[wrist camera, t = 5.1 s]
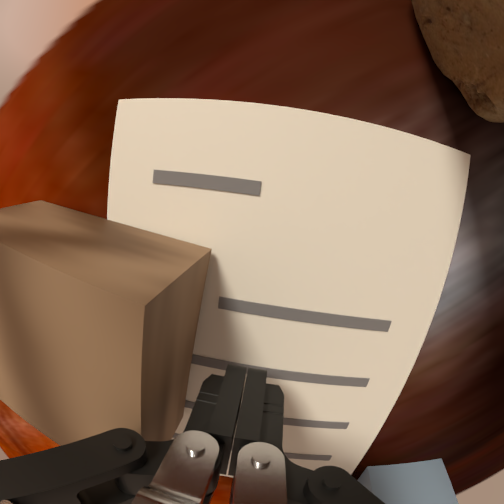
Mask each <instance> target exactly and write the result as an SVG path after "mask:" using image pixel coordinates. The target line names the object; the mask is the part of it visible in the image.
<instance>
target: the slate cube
mask: <svg viewBox="0 0 504 504" xmlns="http://www.w3.org/2000/svg"><path fill="white" fill-rule="evenodd" d="M357 481H359V482H360V483H361V484H362V485H363V486H364V487H366V488H367V489H368V490H369V491H370V492H372V493H373V494H374V495H375V496H377V497H378V498H379V499H380V500H381V501H383V502H384V503H385V504H458V501H457V498H456V496H455V493H454V490H453V487H452V485H451V482H450V479H449V477H448V474H447V471H446V469H445V466H444V464H443V461H442V459H435V460H429V461H422V462H414V463H405V464H395V465H382V466H367V468H366V469H365V471H364V472H363V473H362V475H361V476H360V477H359V479H358V480H357Z"/></svg>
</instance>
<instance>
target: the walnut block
mask: <svg viewBox="0 0 504 504" xmlns="http://www.w3.org/2000/svg"><path fill="white" fill-rule="evenodd" d="M211 250H212V249H210V248H207V247H203V246H200V245H196V244H193V243H189V242H185V241H182V240H178V239H175V238H171V237H168V236H164V235H160V234H157V233H153V232H150V231H146V230H143V229H139V228H136V227H132V226H129V225H125V224H121V223H118V222H114V221H111V220H107V219H104V218H100V217H97V216H93V215H90V214H86V213H83V212H80V211H76V210H73V209H69V208H66V207H62V206H59V205H55V204H52V203H48V202H45V201H41V200H40V201H35V202H30V203H25V204H20V205H15V206H10V207H6V208H1V209H0V400H2V401H3V402H4V403H5V404H6V405H7V406H8V407H10V408H11V409H12V410H13V411H14V412H16V413H17V414H18V415H19V416H21V417H22V418H23V419H24V420H26V421H27V422H28V423H30V424H31V425H32V426H34V427H35V428H36V429H38V430H39V431H40V432H42V433H43V434H44V435H46V436H47V437H49V438H50V439H52V440H53V441H55V442H56V443H58V444H59V445H61V446H62V445H66V444H69V443H72V442H75V441H79V440H82V439H85V438H88V437H91V436H94V435H97V434H100V433H103V432H106V431H109V430H112V429H115V428H128V429H131V430H134V431H136V432H137V433H139V434H140V435H141V436H142V437H143V439H144V441H169V440H171V439H172V437H173V435H174V433H175V431H176V430H177V428H178V426H179V424H180V422H181V420H182V418H183V414H184V407H185V400H186V393H187V387H188V380H189V374H190V367H191V361H192V355H193V349H194V343H195V337H196V331H197V325H198V319H199V314H200V308H201V303H202V297H203V292H204V286H205V281H206V276H207V271H208V265H209V260H210V255H211Z"/></svg>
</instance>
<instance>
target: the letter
mask: <svg viewBox="0 0 504 504" xmlns="http://www.w3.org/2000/svg"><path fill="white" fill-rule="evenodd" d="M470 156H471V155H470V154H467V153H465V152H462V151H459V150H457V149H454V148H451V147H448V146H446V145H443V144H440V143H437V142H434V141H431V140H428V139H425V138H422V137H418V136H415V135H412V134H409V133H405V132H402V131H398V130H395V129H391V128H387V127H384V126H380V125H376V124H372V123H368V122H363V121H359V120H355V119H350V118H346V117H341V116H336V115H331V114H326V113H320V112H315V111H309V110H303V109H297V108H290V107H283V106H275V105H267V104H259V103H249V102H238V101H225V100H209V99H182V98H148V99H121V100H119V102H118V108H117V114H116V121H115V128H114V136H113V144H112V153H111V163H110V175H109V190H108V209H107V220H111V221H114V222H118V223H121V224H125V225H129V226H132V227H136V228H139V229H143V230H146V231H150V232H153V233H157V234H160V235H164V236H168V237H171V238H175V239H178V240H182V241H185V242H189V243H193V244H196V245H200V246H203V247H207V248H210V249H212V250H211V255H210V260H209V265H208V271H207V276H206V281H205V286H204V292H203V297H202V303H201V308H200V314H199V319H198V325H197V331H196V337H195V343H194V349H193V355H192V361H191V367H190V374H189V380H188V387H187V393H186V400H185V407H184V414H183V418H182V420H181V422H180V424H179V426H178V428H177V430H176V431H175V433H174V435H173V437H172V439H174V438H175V437H177V436H178V435H179V434H181V433H183V431H184V429H185V427H186V425H187V422H188V419H189V417H190V414H191V412H192V409H193V406H194V404H195V401H196V399H197V396H198V393H199V391H200V388H201V386H202V383H203V381H204V380H205V379H206V378H208V377H209V376H210V375H211V374H215V375H220V376H224V375H225V372H226V368H227V365H228V364H232V365H237V366H243V367H247V370H246V376H245V382H246V377H247V372H248V367H249V368H256V369H262V370H267V378H266V383H267V384H274V385H279V386H280V388H281V390H282V392H283V393H284V414H283V415H284V417H283V442H282V448H283V452H284V454H285V455H286V457H287V458H288V459H289V460H290V461H292V462H293V463H295V464H296V465H299V466H301V467H304V468H307V469H310V470H315V469H317V468H319V467H322V466H336V467H340V468H342V469H344V470H346V471H347V472H348V473H349V474H350V475H351V474H352V473H353V471H354V470H355V468H356V467H357V465H358V464H359V462H360V461H361V460H362V458H363V456H364V455H365V453H366V452H367V450H368V449H369V447H370V446H371V444H372V442H373V441H374V439H375V437H376V436H377V434H378V432H379V431H380V429H381V427H382V426H383V424H384V422H385V420H386V419H387V417H388V415H389V413H390V411H391V410H392V408H393V406H394V404H395V402H396V400H397V398H398V396H399V394H400V392H401V390H402V388H403V386H404V384H405V382H406V380H407V378H408V376H409V374H410V372H411V370H412V367H413V365H414V363H415V361H416V359H417V356H418V354H419V352H420V349H421V347H422V344H423V342H424V340H425V337H426V335H427V332H428V329H429V327H430V324H431V321H432V319H433V316H434V313H435V310H436V308H437V305H438V302H439V299H440V296H441V293H442V290H443V286H444V283H445V280H446V276H447V273H448V270H449V266H450V262H451V259H452V255H453V251H454V247H455V243H456V239H457V234H458V230H459V225H460V221H461V216H462V210H463V205H464V199H465V193H466V187H467V180H468V173H469V165H470ZM245 382H244V387H245ZM243 392H244V388H243ZM242 397H243V395H242ZM241 402H242V400H241ZM240 407H241V406H240ZM239 412H240V411H239ZM238 417H239V416H238ZM237 422H238V421H237ZM236 427H237V426H236ZM235 431H236V430H235ZM234 436H235V435H234ZM172 439H171V440H172ZM233 442H234V440H233ZM232 448H233V445H232ZM231 454H232V449H231ZM231 454H230V459H229V464H228V468H227V473H226V475H225V474H220V475H221V476H227V477H233V476H231V475H228V472H229V466H230V460H231Z"/></svg>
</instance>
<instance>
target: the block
mask: <svg viewBox="0 0 504 504" xmlns="http://www.w3.org/2000/svg"><path fill="white" fill-rule="evenodd" d="M411 1H412V4H413V8H414V12H415V16H416V19H417V22H418V24H419V27H420V29H421V32H422V35H423V37H424V39H425V41H426V44H427V46H428V48H429V51H430V53H431V55H432V58H433V60H434V62H435V63H436V65H437V66H438V68H439V69H440V71H441V72H442V73H443V75H444V76H446V77H448V78H449V79H451V80H452V81H453V82H454V84H455V85H456V86H457V87H458V89H459V90H460V91H461V93H462V95H463V97H464V98H465V99H466V101H467V103H468V105H469V107H470V108H471V109H472V110H473V111H474V112H475V113H476V114H477V115H478V116H480V117H482V118H484V119H485V120H487V121H489V122H501V123H504V0H411Z"/></svg>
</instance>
